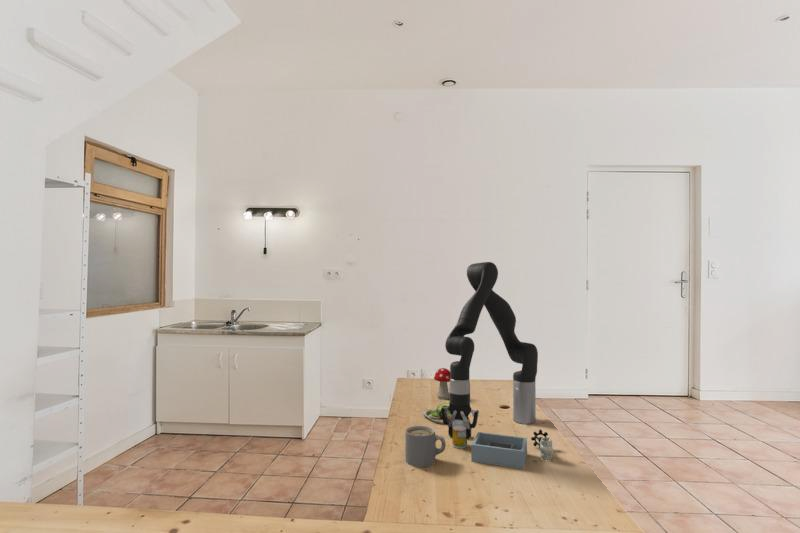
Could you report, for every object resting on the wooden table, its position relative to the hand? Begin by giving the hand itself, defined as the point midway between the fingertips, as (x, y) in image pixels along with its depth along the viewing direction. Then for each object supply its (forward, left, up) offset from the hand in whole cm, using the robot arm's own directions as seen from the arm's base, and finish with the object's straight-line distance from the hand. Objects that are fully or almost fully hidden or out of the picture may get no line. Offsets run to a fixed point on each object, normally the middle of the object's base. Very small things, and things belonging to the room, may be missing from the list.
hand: (459, 437), depth 162 cm
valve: (-3, +29, -3) cm, 29 cm away
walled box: (+5, +15, -3) cm, 16 cm away
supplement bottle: (0, 0, -3) cm, 3 cm away
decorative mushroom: (-59, -21, -3) cm, 63 cm away
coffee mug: (+17, -8, -3) cm, 19 cm away
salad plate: (-30, -13, -4) cm, 33 cm away
